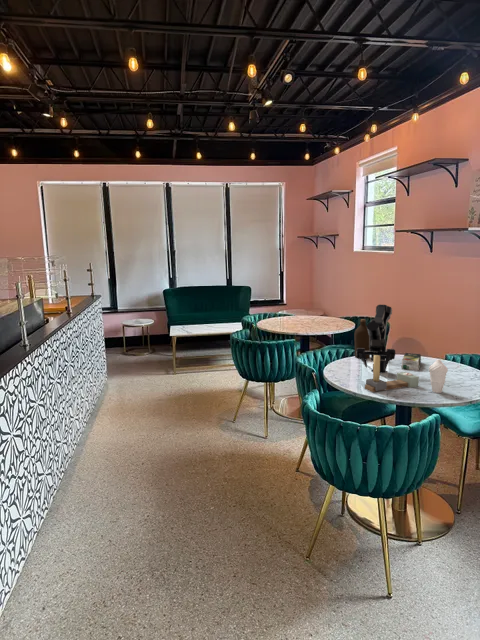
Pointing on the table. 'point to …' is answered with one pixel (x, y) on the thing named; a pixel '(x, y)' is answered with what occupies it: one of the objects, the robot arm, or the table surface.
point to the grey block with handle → (376, 376)
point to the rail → (389, 385)
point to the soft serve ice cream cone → (437, 376)
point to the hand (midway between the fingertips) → (376, 367)
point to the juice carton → (411, 361)
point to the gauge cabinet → (408, 379)
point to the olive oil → (362, 337)
